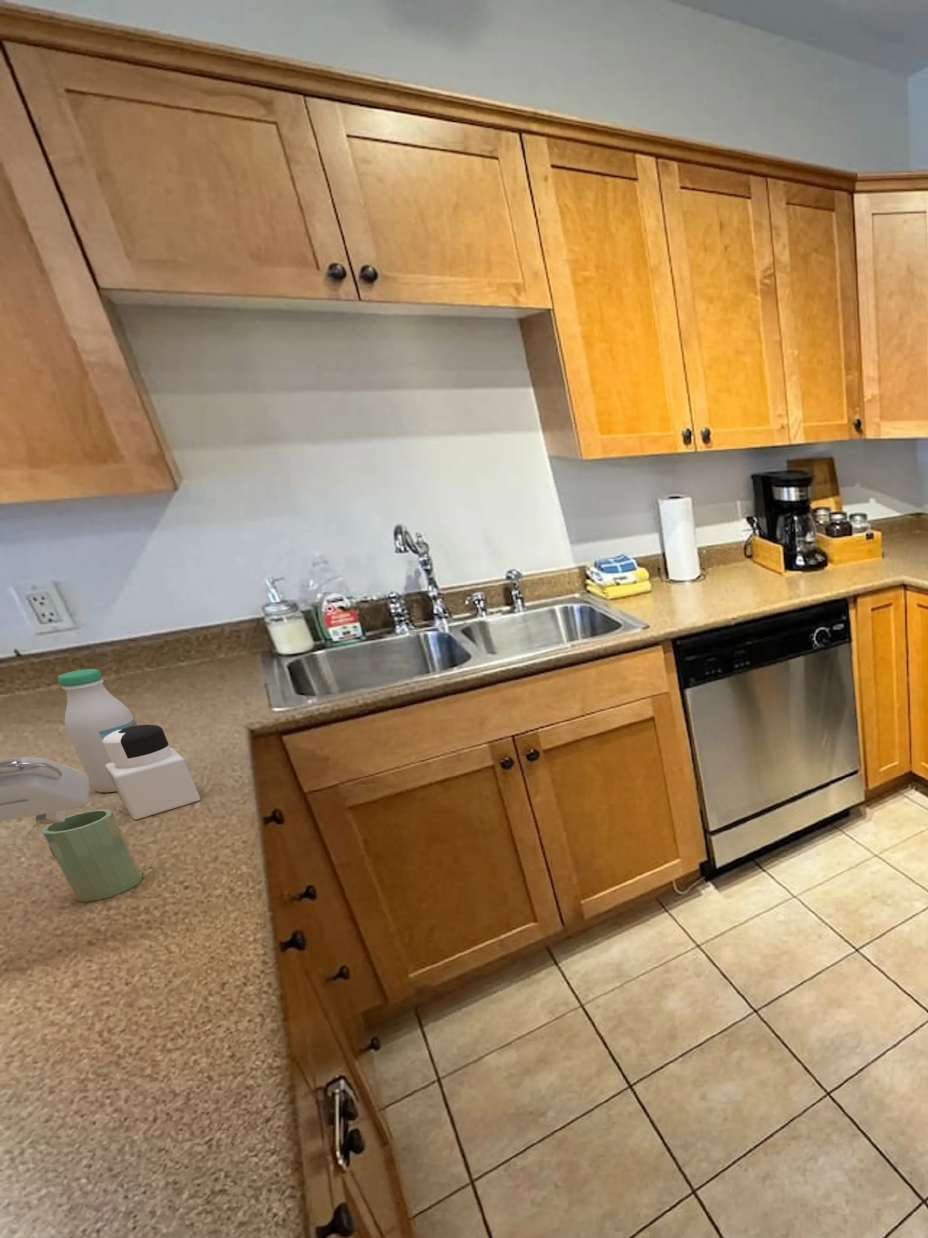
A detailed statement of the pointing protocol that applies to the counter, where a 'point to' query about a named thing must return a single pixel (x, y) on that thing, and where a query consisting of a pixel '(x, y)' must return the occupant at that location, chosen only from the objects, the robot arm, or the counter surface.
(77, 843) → the cup
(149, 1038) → the counter surface
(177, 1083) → the counter surface
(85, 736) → the milk bottle
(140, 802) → the container
